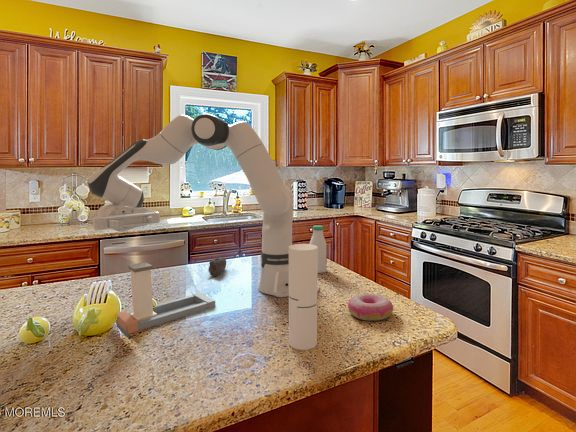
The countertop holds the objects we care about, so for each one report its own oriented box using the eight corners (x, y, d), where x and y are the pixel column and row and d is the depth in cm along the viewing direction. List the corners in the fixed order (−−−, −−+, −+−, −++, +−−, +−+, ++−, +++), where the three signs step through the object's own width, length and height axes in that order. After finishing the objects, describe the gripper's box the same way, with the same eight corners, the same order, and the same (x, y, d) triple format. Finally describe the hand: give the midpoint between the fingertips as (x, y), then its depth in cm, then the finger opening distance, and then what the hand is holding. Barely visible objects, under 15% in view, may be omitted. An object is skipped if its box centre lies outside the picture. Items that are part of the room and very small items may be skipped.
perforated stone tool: (219, 268, 154) (219, 253, 153) (230, 268, 153) (230, 253, 152) (205, 278, 139) (205, 261, 138) (217, 279, 138) (217, 262, 137)
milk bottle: (325, 273, 144) (326, 227, 142) (307, 272, 146) (307, 227, 143) (327, 268, 152) (327, 224, 149) (310, 267, 153) (310, 224, 151)
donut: (390, 307, 109) (390, 292, 109) (395, 325, 96) (396, 309, 96) (347, 304, 112) (348, 289, 111) (347, 322, 99) (348, 305, 98)
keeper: (149, 314, 100) (146, 261, 98) (157, 320, 96) (154, 265, 94) (130, 320, 96) (126, 265, 94) (137, 326, 92) (133, 269, 90)
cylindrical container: (298, 333, 92) (298, 242, 88) (321, 340, 88) (322, 246, 84) (283, 344, 86) (282, 247, 82) (307, 352, 82) (307, 251, 78)
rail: (199, 302, 114) (199, 290, 113) (215, 311, 106) (215, 299, 106) (116, 326, 96) (115, 313, 95) (128, 339, 89) (127, 324, 88)
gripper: (85, 212, 108) (97, 215, 98) (149, 206, 122) (166, 209, 112) (87, 231, 109) (99, 237, 99) (151, 223, 123) (167, 227, 113)
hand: (135, 222), depth 106 cm, fingers open, 8 cm apart
